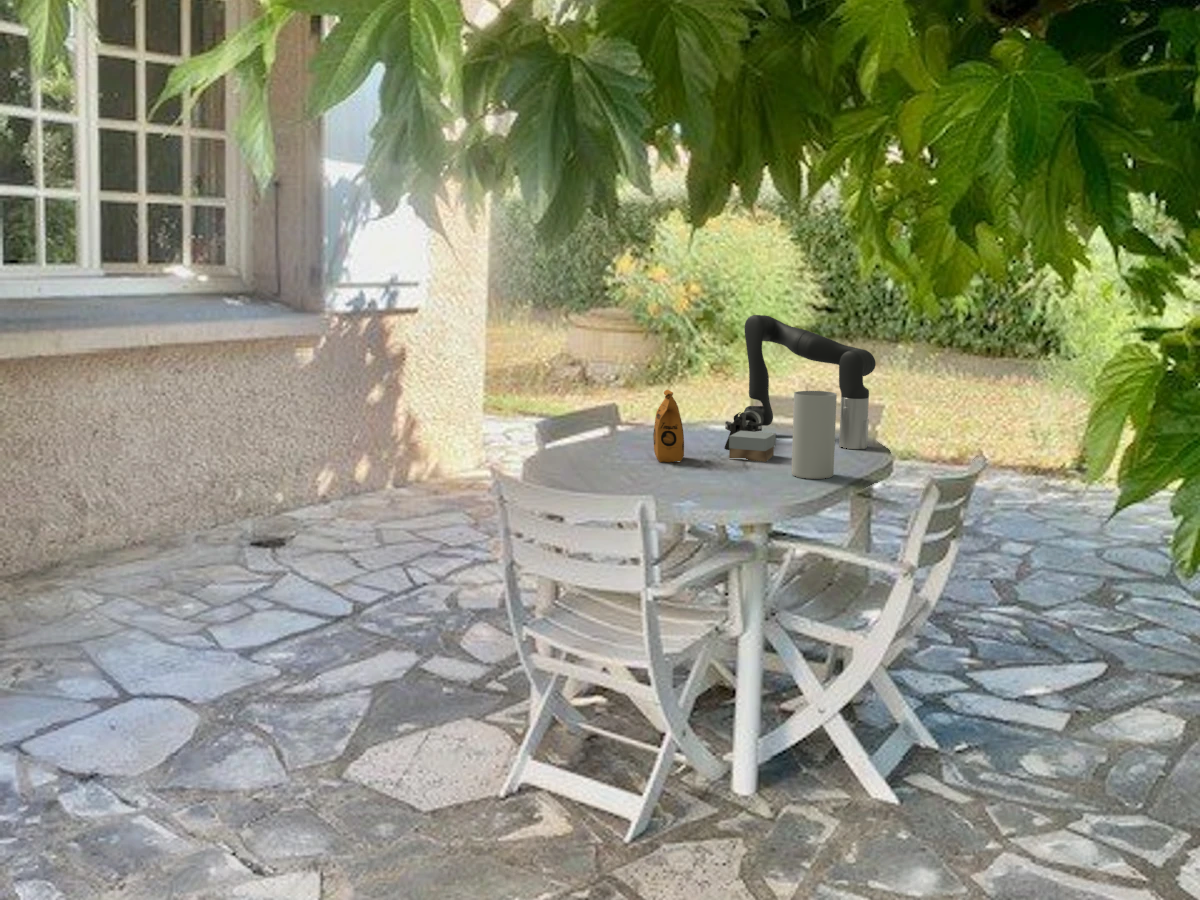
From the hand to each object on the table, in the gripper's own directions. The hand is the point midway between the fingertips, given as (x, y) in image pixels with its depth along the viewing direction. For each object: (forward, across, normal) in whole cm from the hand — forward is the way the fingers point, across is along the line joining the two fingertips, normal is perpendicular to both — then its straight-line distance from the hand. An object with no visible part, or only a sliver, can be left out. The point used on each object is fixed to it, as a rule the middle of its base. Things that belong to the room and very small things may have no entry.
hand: (737, 430), depth 420 cm
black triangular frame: (-3, 0, +7) cm, 7 cm away
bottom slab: (+12, +7, +7) cm, 16 cm away
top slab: (+12, +8, +3) cm, 15 cm away
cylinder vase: (+36, +31, +7) cm, 48 cm away
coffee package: (+25, -17, +7) cm, 31 cm away
